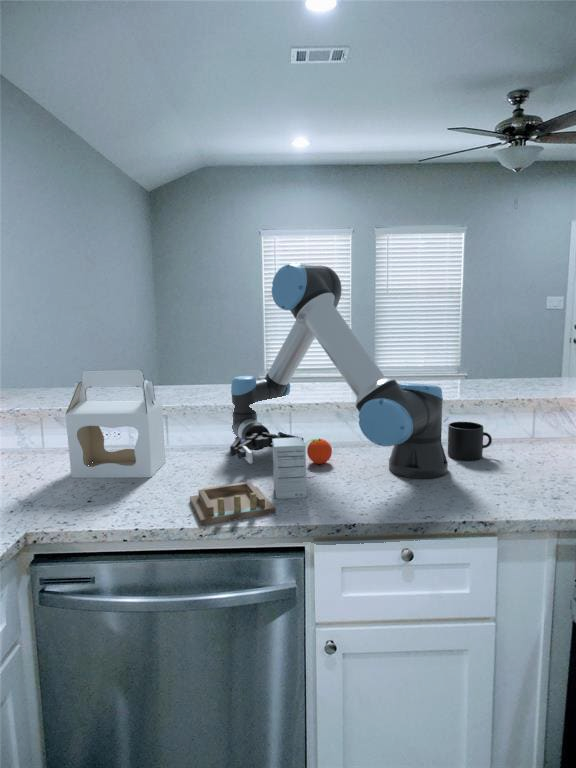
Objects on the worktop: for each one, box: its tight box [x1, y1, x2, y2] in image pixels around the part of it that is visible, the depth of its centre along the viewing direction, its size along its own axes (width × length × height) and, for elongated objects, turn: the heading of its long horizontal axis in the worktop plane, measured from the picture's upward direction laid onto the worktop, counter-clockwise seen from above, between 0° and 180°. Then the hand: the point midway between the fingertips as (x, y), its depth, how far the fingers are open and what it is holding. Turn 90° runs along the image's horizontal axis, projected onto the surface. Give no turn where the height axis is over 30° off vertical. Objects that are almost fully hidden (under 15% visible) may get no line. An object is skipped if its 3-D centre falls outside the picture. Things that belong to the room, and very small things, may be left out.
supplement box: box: [272, 436, 308, 500], centre depth 120 cm, size 7×7×13 cm
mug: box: [447, 421, 493, 462], centre depth 145 cm, size 9×12×9 cm
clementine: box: [306, 438, 333, 465], centre depth 142 cm, size 8×7×7 cm
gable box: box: [65, 369, 166, 479], centre depth 139 cm, size 22×13×28 cm, turn 87°
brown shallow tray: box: [189, 481, 276, 526], centre depth 113 cm, size 16×14×5 cm
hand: (277, 454), depth 127 cm, fingers open, 13 cm apart
